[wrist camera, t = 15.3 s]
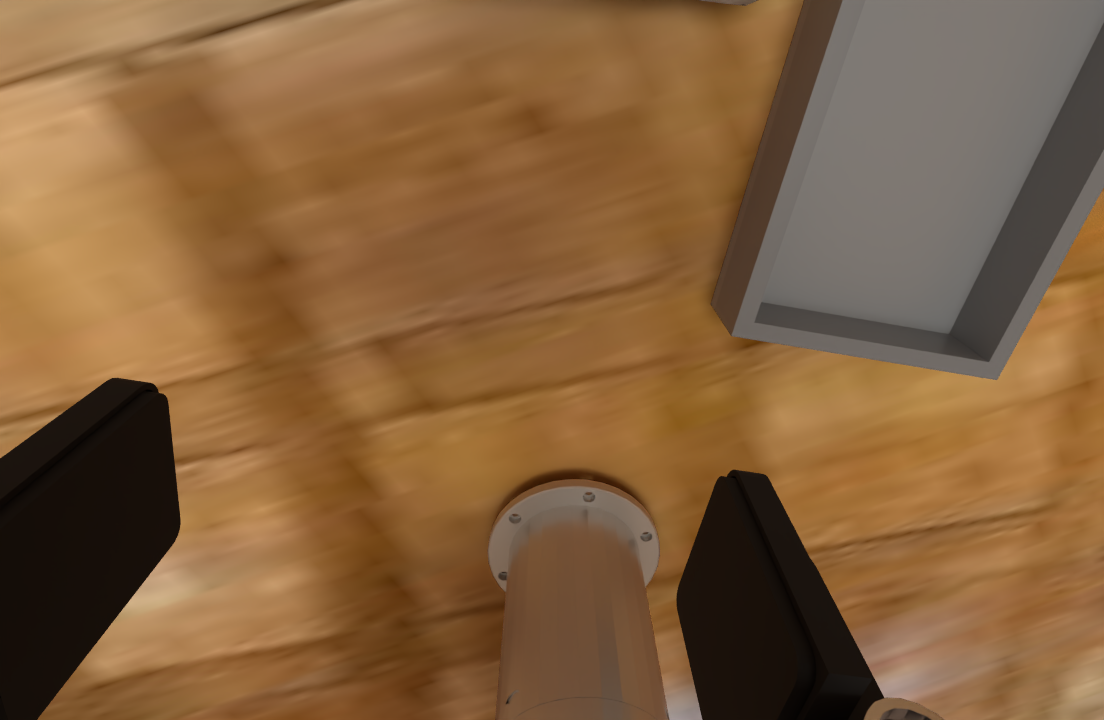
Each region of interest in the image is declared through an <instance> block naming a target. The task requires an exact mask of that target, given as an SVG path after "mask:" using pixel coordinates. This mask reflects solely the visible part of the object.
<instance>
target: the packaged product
mask: <svg viewBox="0 0 1104 720" xmlns="http://www.w3.org/2000/svg"><path fill="white" fill-rule="evenodd" d="M701 1H709V2H717V3H725V4H734V5H744V6H746V5H748V4H751V3H753V2H755V1H757V0H701Z"/></svg>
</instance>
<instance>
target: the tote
mask: <svg viewBox="0 0 1104 720" xmlns="http://www.w3.org/2000/svg"><path fill="white" fill-rule="evenodd" d="M1103 188H1104V0H804V3H803V6H802V10H801V13H800V16H799V19H798V23H797V26H796V29H795V32H794V36H793V39H792V42H791V45H790V49H789V52H788V55H787V58H786V62H785V65H784V68H783V71H782V75H781V78H780V81H779V84H778V87H777V91H776V94H775V97H774V100H773V104H772V107H771V110H770V113H769V117H768V120H767V123H766V126H765V130H764V133H763V136H762V139H761V143H760V146H759V149H758V152H757V156H756V159H755V162H754V165H753V169H752V172H751V175H750V178H749V182H748V185H747V188H746V191H745V195H744V198H743V201H742V204H741V208H740V211H739V214H738V217H737V220H736V224H735V227H734V230H733V233H732V237H731V240H730V243H729V246H728V250H727V253H726V256H725V259H724V263H723V266H722V269H721V272H720V276H719V279H718V282H717V285H716V289H715V292H714V295H713V298H712V302H711V305H712V307H713V308H714V310H715V311H716V313H717V315H718V316H719V318H720V319H721V321H722V322H723V324H724V325H725V327H726V328H727V330H728V331H729V333H730V335H731V336H735V337H741V338H747V339H753V340H759V341H765V342H771V343H777V344H783V345H789V346H795V347H801V348H807V349H813V350H819V351H825V352H831V353H837V354H843V355H849V356H855V357H861V358H867V359H873V360H879V361H885V362H891V363H897V364H903V365H909V366H915V367H921V368H927V369H933V370H939V371H945V372H951V373H957V374H963V375H969V376H975V377H981V378H987V379H993V380H997V379H998V377H999V376H1000V374H1001V372H1002V370H1003V368H1004V367H1005V365H1006V363H1007V361H1008V359H1009V357H1010V356H1011V354H1012V352H1013V350H1014V348H1015V347H1016V345H1017V343H1018V341H1019V339H1020V338H1021V336H1022V334H1023V332H1024V330H1025V329H1026V327H1027V325H1028V323H1029V321H1030V320H1031V318H1032V316H1033V314H1034V312H1035V310H1036V309H1037V307H1038V305H1039V303H1040V301H1041V300H1042V298H1043V296H1044V294H1045V292H1046V291H1047V289H1048V287H1049V285H1050V283H1051V282H1052V280H1053V278H1054V276H1055V274H1056V273H1057V271H1058V269H1059V267H1060V265H1061V264H1062V262H1063V260H1064V258H1065V256H1066V254H1067V253H1068V251H1069V249H1070V247H1071V245H1072V244H1073V242H1074V240H1075V238H1076V236H1077V235H1078V233H1079V231H1080V229H1081V227H1082V226H1083V224H1084V222H1085V220H1086V218H1087V217H1088V215H1089V213H1090V211H1091V209H1092V208H1093V206H1094V204H1095V202H1096V200H1097V198H1098V197H1099V195H1100V193H1101V191H1102V189H1103Z"/></svg>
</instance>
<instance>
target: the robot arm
mask: <svg viewBox="0 0 1104 720" xmlns="http://www.w3.org/2000/svg"><path fill="white" fill-rule="evenodd" d="M179 530H180V511H179V501H178V491H177V482H176V472H175V463H174V453H173V444H172V434H171V424H170V415H169V405H168V400H167V397H166V396H165V395H164V394H161V393H159V392H158V389H157V387H156V386H155V385H154V384H152V383H148V382H141V381H134V380H128V379H121V378H112V379H110V380H108V381H106V382H105V383H103V384H102V385H101V386H99V387H98V388H96V389H95V390H94V391H92V392H91V393H90V394H88V395H87V396H85V397H84V398H83V399H81V400H80V401H79V402H77V403H76V404H74V405H73V406H72V407H70V408H69V409H68V410H66V411H65V412H63V413H62V414H61V415H59V416H58V417H57V418H55V419H54V420H52V421H51V422H50V423H48V424H47V425H46V426H44V427H43V428H42V429H40V430H39V431H37V432H36V433H35V434H33V435H32V436H31V437H29V438H28V439H26V440H25V441H24V442H22V443H21V444H20V445H18V446H17V447H15V448H14V449H13V450H11V451H10V452H9V453H7V454H6V455H4V456H3V457H2V458H0V720H37V719H38V718H39V716H40V715H41V714H42V712H43V711H44V710H45V709H46V707H47V706H48V705H49V703H50V702H51V701H52V700H53V698H54V697H55V696H56V694H57V693H58V692H59V691H60V689H61V688H62V687H63V685H64V684H65V683H66V681H67V680H68V679H69V678H70V676H71V675H72V674H73V672H74V671H75V670H76V669H77V667H78V666H79V665H80V663H81V662H82V661H83V660H84V658H85V657H86V656H87V654H88V653H89V652H90V651H91V649H92V648H93V647H94V645H95V644H96V643H97V642H98V640H99V639H100V638H101V636H102V635H103V634H104V633H105V631H106V630H107V629H108V627H109V626H110V625H111V623H112V622H113V621H114V620H115V618H116V617H117V616H118V614H119V613H120V612H121V611H122V609H123V608H124V607H125V605H126V604H127V603H128V602H129V600H130V599H131V598H132V596H133V595H134V594H135V593H136V591H137V590H138V589H139V587H140V586H141V585H142V584H143V582H144V581H145V580H146V578H147V577H148V576H149V575H150V573H151V572H152V571H153V569H154V568H155V567H156V565H157V564H158V563H159V562H160V560H161V559H162V558H163V556H164V555H165V554H166V553H167V551H168V550H169V549H170V547H171V546H172V545H173V543H174V542H175V540H176V538H177V536H178V533H179ZM659 557H660V545H659V538H658V534H657V530H656V527H655V525H654V522H653V520H652V518H651V516H650V515H649V513H648V512H647V511H646V509H645V508H644V507H643V505H641V504H640V503H639V502H638V501H637V500H636V499H635V498H633V497H632V496H631V495H629V494H627V493H626V492H624V491H622V490H620V489H619V488H616V487H614V486H611V485H608V484H605V483H602V482H597V481H591V480H583V479H567V480H559V481H552V482H548V483H545V484H542V485H538V486H536V487H533V488H531V489H529V490H527V491H525V492H523V493H521V494H520V495H519V496H517V497H516V498H515V499H513V500H512V501H511V502H509V503H508V504H507V506H506V507H505V508H504V509H503V510H502V511H501V512H500V513H499V515H498V517H497V519H496V520H495V522H494V524H493V527H492V530H491V533H490V536H489V545H488V560H489V565H490V568H491V571H492V574H493V576H494V578H495V580H496V581H497V583H498V585H499V586H500V587H501V588H502V589H503V590H504V591H505V592H506V596H505V608H504V620H503V632H502V644H501V656H500V668H499V680H498V692H497V704H496V716H495V720H669V715H668V710H667V704H666V699H665V693H664V688H663V682H662V677H661V672H660V666H659V661H658V655H657V649H656V644H655V638H654V633H653V627H652V622H651V616H650V610H649V605H648V599H647V594H646V588H645V587H646V586H647V585H648V583H649V582H650V581H651V579H652V578H653V575H654V573H655V571H656V569H657V567H658V562H659ZM677 610H678V615H679V619H680V624H681V628H682V632H683V637H684V641H685V645H686V650H687V654H688V658H689V663H690V667H691V671H692V676H693V680H694V685H695V689H696V693H697V698H698V702H699V706H700V711H701V715H702V719H703V720H944V719H943V718H942V717H940V716H939V715H938V714H937V713H935V712H933V711H931V710H929V709H927V708H925V707H924V706H922V705H920V704H918V703H915V702H911V701H908V700H905V699H902V698H884V696H883V694H882V692H881V691H880V689H879V687H878V685H877V683H876V681H875V679H874V677H873V675H872V673H871V671H870V669H869V667H868V666H867V664H866V662H865V660H864V658H863V656H862V654H861V652H860V650H859V648H858V646H857V644H856V643H855V641H854V639H853V637H852V635H851V633H850V631H849V629H848V627H847V625H846V623H845V621H844V620H843V618H842V616H841V614H840V612H839V610H838V608H837V606H836V604H835V602H834V600H833V598H832V596H831V595H830V593H829V591H828V589H827V587H826V585H825V583H824V581H823V579H822V577H821V575H820V573H819V572H818V570H817V568H816V566H815V565H814V563H813V562H812V560H811V559H810V557H809V555H808V554H807V552H806V550H805V548H804V546H803V544H802V542H801V540H800V538H799V536H798V534H797V532H796V530H795V528H794V526H793V525H792V523H791V521H790V519H789V517H788V515H787V513H786V511H785V509H784V507H783V505H782V503H781V501H780V499H779V498H778V496H777V494H776V492H775V490H774V488H773V486H772V484H771V482H770V480H769V478H768V477H767V476H766V475H764V474H759V473H753V472H746V471H739V470H732V471H730V473H729V474H728V475H727V477H723V476H721V477H719V478H718V479H717V481H716V484H715V486H714V489H713V492H712V495H711V497H710V500H709V503H708V506H707V509H706V511H705V514H704V517H703V520H702V522H701V525H700V528H699V531H698V534H697V536H696V539H695V542H694V545H693V547H692V550H691V553H690V556H689V559H688V561H687V564H686V567H685V570H684V572H683V575H682V578H681V581H680V584H679V587H678V590H677Z"/></svg>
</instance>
